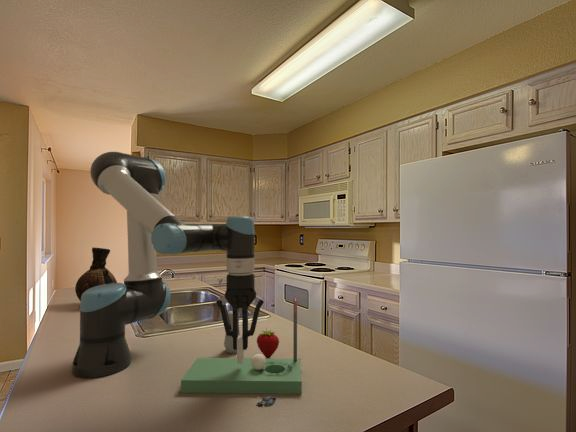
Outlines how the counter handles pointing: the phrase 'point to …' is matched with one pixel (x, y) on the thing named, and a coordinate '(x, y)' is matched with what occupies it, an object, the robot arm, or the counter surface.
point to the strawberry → (267, 343)
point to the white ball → (258, 361)
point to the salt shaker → (228, 339)
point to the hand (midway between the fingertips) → (240, 361)
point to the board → (245, 374)
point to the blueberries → (266, 401)
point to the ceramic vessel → (95, 273)
